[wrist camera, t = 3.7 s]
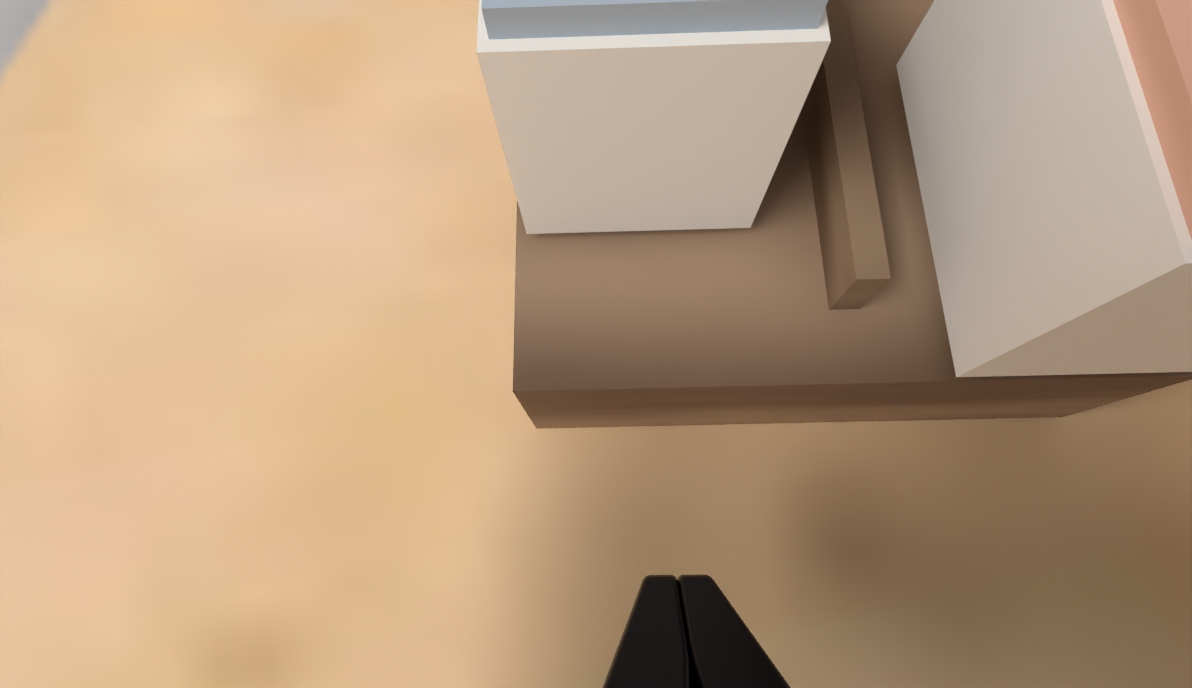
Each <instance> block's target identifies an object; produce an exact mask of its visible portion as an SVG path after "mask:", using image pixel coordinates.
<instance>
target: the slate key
mask: <svg viewBox="0 0 1192 688" xmlns="http://www.w3.org/2000/svg"><path fill="white" fill-rule="evenodd" d="M827 2H828V0H479V15H478V36H477V55H478V59H479V63H480V66H481V70H482V74H483V77H484V81H485V85H486V88H487V92H488V95H489V99H490V103H491V106H492V110H493V114H494V117H495V121H496V125H497V128H498V132H499V136H500V139H501V143H502V146H503V150H504V154H505V157H506V161H507V165H508V168H509V172H510V176H511V179H512V183H513V186H514V190H515V194H516V197H517V201H518V205H519V208H520V212H521V216H522V219H523V223H524V227H525V230H526V234H545V233H582V232H618V231H654V230H691V229H727V228H751V226H752V223H753V221H754V219H755V216H756V214H757V212H758V209H759V207H760V205H761V202H762V200H763V198H764V195H765V193H766V191H767V188H768V186H769V184H770V181H771V179H772V177H773V174H774V172H775V170H776V168H777V165H778V163H779V161H780V158H781V156H782V154H783V151H784V149H785V147H786V144H787V142H788V140H789V137H790V135H791V133H792V130H793V128H794V126H795V123H796V121H797V119H798V116H799V114H800V112H801V109H802V107H803V105H804V102H805V100H806V98H807V95H808V93H809V91H810V89H811V86H812V84H813V82H814V79H815V77H816V75H817V72H818V70H819V68H820V65H821V63H822V61H823V58H824V56H825V54H826V51H827V49H828V47H829V44H830V42H831V38H830V32H829V26H828V19H827V13H826V5H827Z"/></svg>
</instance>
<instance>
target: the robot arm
mask: <svg viewBox="0 0 1192 688" xmlns="http://www.w3.org/2000/svg"><path fill="white" fill-rule="evenodd" d="M603 688H790V686H789V685H788V683H787V682H786V681H785V679H784V678H783V676H782V675H781V674H780V672H779V671H778V669H777V668H776V667H775V665H774V664H773V663H772V661H771V660H770V658H769V657H768V656H767V654H766V653H765V651H764V650H763V649H762V647H761V646H760V644H759V643H758V642H757V640H756V639H755V637H754V636H753V635H752V633H751V632H750V630H749V629H748V628H747V626H746V625H745V623H744V622H743V621H742V619H741V618H740V616H739V615H738V614H737V612H736V611H735V609H734V608H733V607H732V605H731V604H730V602H729V601H728V600H727V598H726V597H725V595H724V594H723V593H722V591H721V590H720V588H719V587H718V586H717V584H716V583H715V582H714V580H713V579H712V578H711V577H710V576H708V575H681V576H680V577H678V579H676V577H675V576H673V575H649V576H646V577H645V578H644V579H643V581H642V584H641V587H640V589H639V592H638V595H637V597H636V600H635V603H634V605H633V608H632V611H631V613H630V616H629V619H628V621H627V624H626V627H625V629H624V632H623V635H622V637H621V640H620V643H619V645H618V648H617V651H616V653H615V656H614V659H613V661H612V664H611V667H610V669H609V672H608V675H607V677H606V680H605V683H604V685H603Z"/></svg>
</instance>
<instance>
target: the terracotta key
mask: <svg viewBox="0 0 1192 688" xmlns="http://www.w3.org/2000/svg"><path fill="white" fill-rule="evenodd" d="M896 67H897V72H898V77H899V82H900V87H901V93H902V98H903V103H904V108H905V113H906V119H907V124H908V129H909V134H910V140H911V145H912V150H913V155H914V160H915V166H916V171H917V176H918V181H919V186H920V192H921V197H922V202H923V207H924V212H925V218H926V223H927V228H928V233H929V238H930V244H931V249H932V254H933V259H934V264H935V270H936V275H937V280H938V285H939V291H940V296H941V301H942V306H943V311H944V317H945V322H946V327H947V332H948V337H949V343H950V348H951V353H952V358H953V363H954V369H955V374H956V377H991V376H1034V375H1077V374H1121V373H1164V372H1192V0H934V2H933V3H932V5H931V7H930V9H929V10H928V12H927V14H926V15H925V17H924V19H923V21H922V22H921V24H920V26H919V27H918V29H917V31H916V32H915V34H914V36H913V38H912V39H911V41H910V43H909V44H908V46H907V48H906V49H905V51H904V53H903V55H902V56H901V58H900V60H899V61H898V63H897V65H896Z"/></svg>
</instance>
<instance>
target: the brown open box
mask: <svg viewBox="0 0 1192 688" xmlns="http://www.w3.org/2000/svg"><path fill="white" fill-rule="evenodd" d="M933 2H934V0H828V2H827V5H826V13H827V19H828V26H829V32H830V38H831V42H830V44H829V47H828V49H827V51H826V54H825V56H824V58H823V61H822V63H821V65H820V68H819V70H818V72H817V75H816V77H815V79H814V82H813V84H812V86H811V89H810V91H809V93H808V95H807V98H806V100H805V102H804V105H803V107H802V109H801V112H800V114H799V116H798V119H797V121H796V123H795V126H794V128H793V130H792V133H791V135H790V137H789V140H788V142H787V144H786V147H785V149H784V151H783V154H782V156H781V158H780V161H779V163H778V165H777V168H776V170H775V172H774V174H773V177H772V179H771V181H770V184H769V186H768V188H767V191H766V193H765V195H764V198H763V200H762V202H761V205H760V207H759V209H758V212H757V214H756V216H755V219H754V221H753V223H752V226H751V228H727V229H691V230H654V231H618V232H582V233H545V234H526V230H525V227H524V223H523V219H522V216H521V212H520V208H519V205H518V201H517V229H516V275H515V321H514V367H513V392H514V394H515V395H516V397H517V398H518V400H519V402H520V403H521V405H522V406H523V408H524V409H525V411H526V413H527V414H528V416H529V417H530V419H531V420H532V422H533V424H534V425H535V427H536V428H574V427H619V426H665V425H711V424H756V423H802V422H847V421H893V420H938V419H984V418H1030V417H1063V416H1067V415H1070V414H1073V413H1077V412H1080V411H1084V410H1087V409H1091V408H1094V407H1097V406H1101V405H1104V404H1108V403H1111V402H1115V401H1118V400H1121V399H1125V398H1128V397H1132V396H1135V395H1139V394H1142V393H1145V392H1149V391H1152V390H1156V389H1159V388H1163V387H1166V386H1169V385H1173V384H1176V383H1180V382H1183V381H1187V380H1190V379H1192V372H1164V373H1121V374H1077V375H1034V376H991V377H956V374H955V369H954V363H953V358H952V353H951V348H950V343H949V337H948V332H947V327H946V322H945V317H944V311H943V306H942V301H941V296H940V291H939V285H938V280H937V275H936V270H935V264H934V259H933V254H932V249H931V244H930V238H929V233H928V228H927V223H926V218H925V212H924V207H923V202H922V197H921V192H920V186H919V181H918V176H917V171H916V166H915V160H914V155H913V150H912V145H911V140H910V134H909V129H908V124H907V119H906V113H905V108H904V103H903V98H902V93H901V87H900V82H899V77H898V72H897V67H896V65H897V63H898V61H899V60H900V58H901V56H902V55H903V53H904V51H905V49H906V48H907V46H908V44H909V43H910V41H911V39H912V38H913V36H914V34H915V32H916V31H917V29H918V27H919V26H920V24H921V22H922V21H923V19H924V17H925V15H926V14H927V12H928V10H929V9H930V7H931V5H932V3H933Z"/></svg>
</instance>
